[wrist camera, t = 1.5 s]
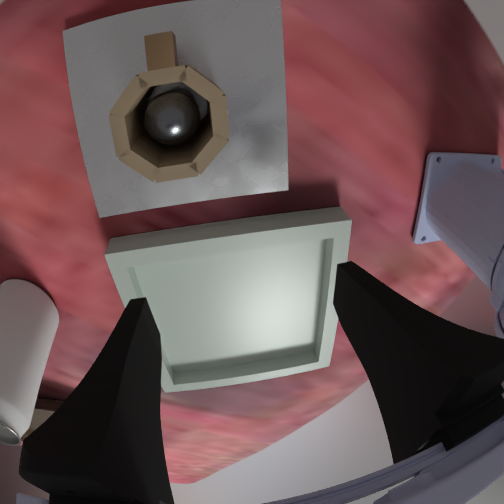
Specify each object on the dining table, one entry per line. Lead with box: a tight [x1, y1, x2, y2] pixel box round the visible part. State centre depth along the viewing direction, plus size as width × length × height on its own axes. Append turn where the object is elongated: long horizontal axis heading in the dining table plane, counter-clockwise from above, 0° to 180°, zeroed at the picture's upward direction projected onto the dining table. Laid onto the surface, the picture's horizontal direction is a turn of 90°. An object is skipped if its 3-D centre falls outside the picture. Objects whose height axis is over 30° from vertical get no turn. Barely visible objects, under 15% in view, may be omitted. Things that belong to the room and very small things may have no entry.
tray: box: [104, 207, 352, 392], centre depth 25 cm, size 16×16×2 cm
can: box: [0, 279, 59, 446], centre depth 17 cm, size 6×6×12 cm
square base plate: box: [63, 0, 288, 218], centre depth 14 cm, size 12×12×6 cm
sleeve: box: [109, 31, 230, 183], centre depth 13 cm, size 4×6×6 cm
